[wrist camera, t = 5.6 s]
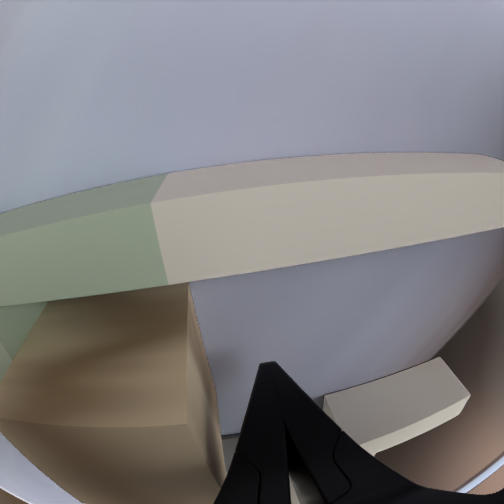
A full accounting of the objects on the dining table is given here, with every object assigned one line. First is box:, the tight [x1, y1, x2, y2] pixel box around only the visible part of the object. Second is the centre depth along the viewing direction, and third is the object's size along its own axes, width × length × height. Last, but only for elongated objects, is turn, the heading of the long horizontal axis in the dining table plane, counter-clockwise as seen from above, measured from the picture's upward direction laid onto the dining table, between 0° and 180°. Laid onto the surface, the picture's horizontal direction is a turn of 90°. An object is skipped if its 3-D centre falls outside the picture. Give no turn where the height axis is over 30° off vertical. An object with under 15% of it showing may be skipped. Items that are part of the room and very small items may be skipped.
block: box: [0, 282, 226, 504], centre depth 8 cm, size 5×5×5 cm
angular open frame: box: [0, 152, 504, 504], centre depth 10 cm, size 18×18×3 cm
